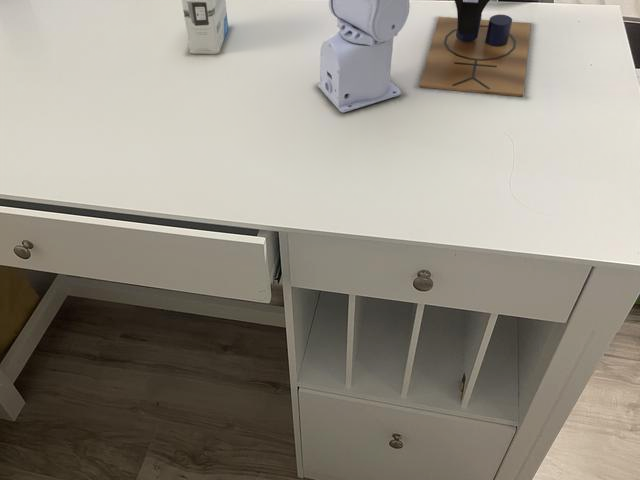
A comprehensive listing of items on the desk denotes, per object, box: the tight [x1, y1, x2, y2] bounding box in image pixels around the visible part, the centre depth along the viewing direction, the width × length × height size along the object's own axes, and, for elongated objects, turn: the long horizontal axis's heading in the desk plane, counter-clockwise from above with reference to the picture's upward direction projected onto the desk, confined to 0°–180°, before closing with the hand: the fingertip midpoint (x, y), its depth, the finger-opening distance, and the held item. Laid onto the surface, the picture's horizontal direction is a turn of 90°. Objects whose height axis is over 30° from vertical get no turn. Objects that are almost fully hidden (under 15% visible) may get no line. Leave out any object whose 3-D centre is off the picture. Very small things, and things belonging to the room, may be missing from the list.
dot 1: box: [456, 13, 483, 41], centre depth 100 cm, size 3×3×3 cm
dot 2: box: [485, 14, 513, 47], centre depth 99 cm, size 3×3×3 cm
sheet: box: [419, 16, 532, 98], centre depth 99 cm, size 20×14×1 cm
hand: (467, 27), depth 100 cm, fingers closed on dot 1, 3 cm apart
